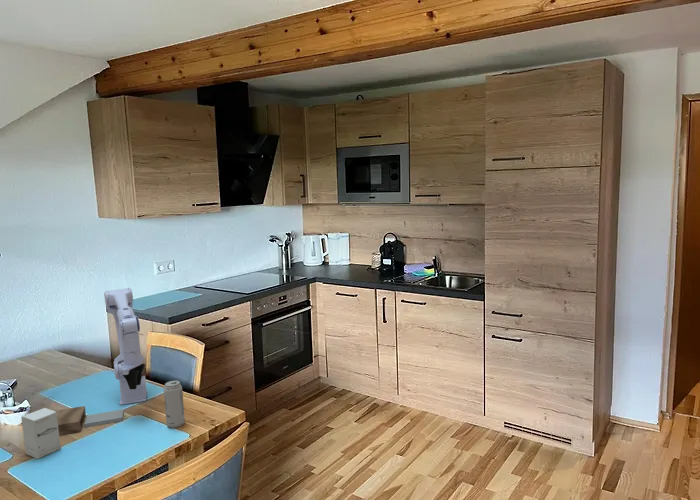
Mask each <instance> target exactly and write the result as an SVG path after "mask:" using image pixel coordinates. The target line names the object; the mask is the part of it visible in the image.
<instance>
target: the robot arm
mask: <svg viewBox="0 0 700 500" xmlns="http://www.w3.org/2000/svg"><path fill="white" fill-rule="evenodd" d="M133 301H134V295H133V290H132V288H131V287H128V288H121V289H120V288H119V289H112V290H105V291H104V303H105V308H106V311H107V314H111V315H112V316H113V319H114V322H115V323H114V325H115V329H116V335H117V336H116V337H117V342H118V350H119V355H117V357H115V358H114V361H113V372H114V377H115V379H116V380H117V381H119V389H120V390H119V391H120V400H119V405H120V406H124V405H129V404H133V403H134V404H135V403H141V402H146V401H147V395H148V390H147V384H146V376H145V375H143V373H144V370H145V366H146V364H145V363H143V362H144V359H145V358H144V355H142V354H141V345H140V344H141V342H140V334H139V333H140V331H141V325H140V319H139V317H138V316H137V315H136V314H135V311H134V310H133V305H134V304H133V303H134V302H133Z"/></svg>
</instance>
